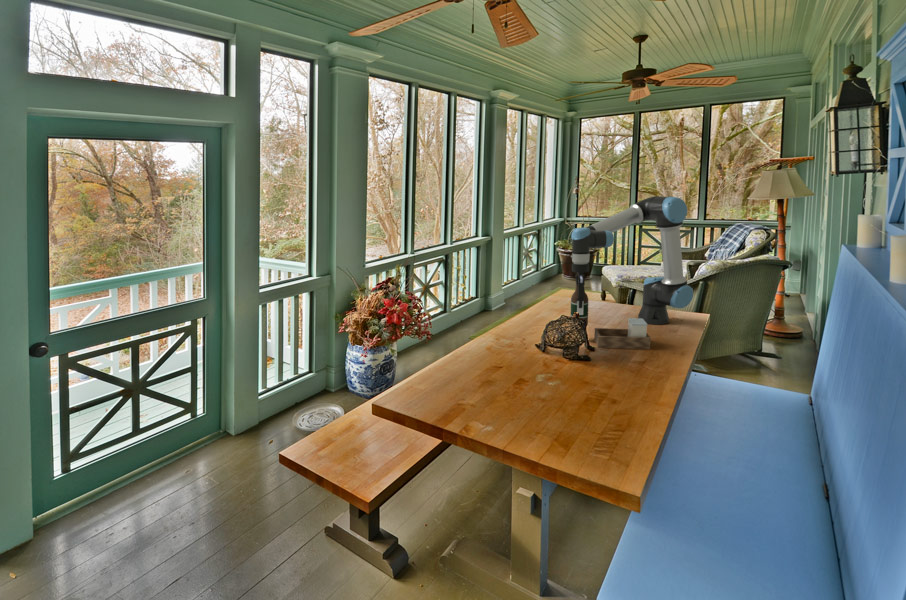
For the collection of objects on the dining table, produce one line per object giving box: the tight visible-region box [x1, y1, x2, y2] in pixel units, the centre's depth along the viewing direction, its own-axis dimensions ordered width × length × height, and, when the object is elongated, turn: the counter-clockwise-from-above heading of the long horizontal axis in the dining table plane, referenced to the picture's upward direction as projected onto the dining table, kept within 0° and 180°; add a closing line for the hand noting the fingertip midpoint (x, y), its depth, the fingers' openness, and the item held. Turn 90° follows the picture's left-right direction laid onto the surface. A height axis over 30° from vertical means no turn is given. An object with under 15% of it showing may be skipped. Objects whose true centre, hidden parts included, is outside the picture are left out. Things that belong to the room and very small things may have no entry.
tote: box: [593, 327, 652, 350], centre depth 244 cm, size 22×14×5 cm, turn 82°
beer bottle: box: [570, 273, 589, 327], centre depth 248 cm, size 8×8×24 cm
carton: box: [627, 317, 649, 337], centre depth 243 cm, size 6×10×10 cm, turn 172°
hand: (579, 312), depth 249 cm, fingers closed on beer bottle, 8 cm apart
